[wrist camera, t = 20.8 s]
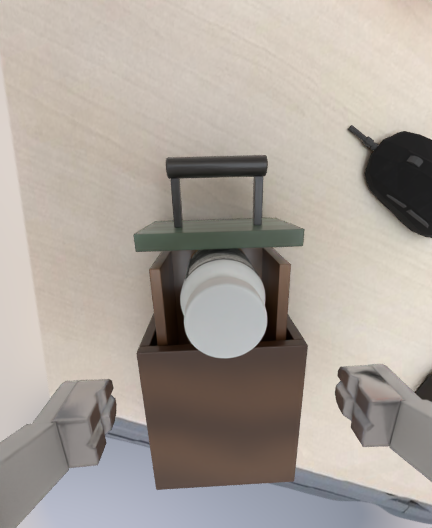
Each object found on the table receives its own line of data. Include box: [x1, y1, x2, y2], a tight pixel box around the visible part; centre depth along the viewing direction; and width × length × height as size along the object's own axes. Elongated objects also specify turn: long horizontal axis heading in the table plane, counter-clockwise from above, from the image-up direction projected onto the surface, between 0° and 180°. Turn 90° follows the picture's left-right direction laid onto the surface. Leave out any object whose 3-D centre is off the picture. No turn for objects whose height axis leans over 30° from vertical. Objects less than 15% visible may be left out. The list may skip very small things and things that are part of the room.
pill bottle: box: [180, 248, 267, 358], centre depth 18 cm, size 6×6×10 cm
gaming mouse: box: [349, 125, 432, 238], centre depth 21 cm, size 6×15×4 cm, turn 55°
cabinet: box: [137, 314, 308, 490], centre depth 24 cm, size 15×13×9 cm
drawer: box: [134, 155, 304, 346], centre depth 21 cm, size 18×11×7 cm, turn 2°
